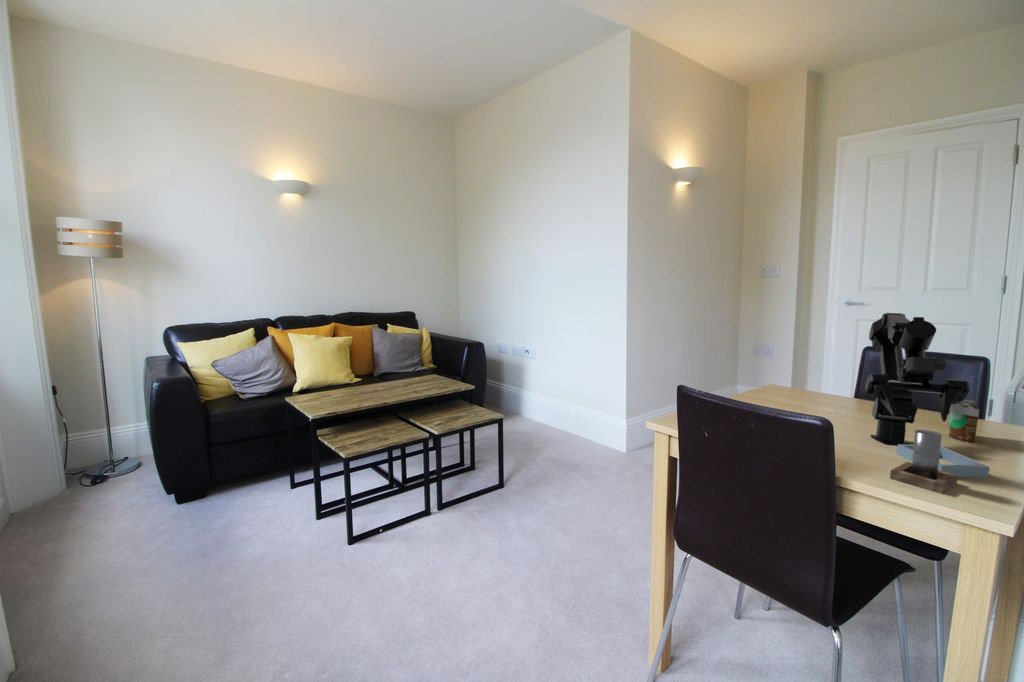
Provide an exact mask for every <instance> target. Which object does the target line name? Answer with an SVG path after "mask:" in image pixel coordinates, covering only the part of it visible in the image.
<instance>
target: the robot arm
mask: <svg viewBox="0 0 1024 682" xmlns="http://www.w3.org/2000/svg"><path fill="white" fill-rule="evenodd" d="M936 333H937V328H936V326H935V325H934V324H933V323H931V322H929V321H927V320H925V318H924V316H922V317H921V316H913V318H912V320H910V319H908V318H907V317H906V314H904V313H902V312H901V313H898V312H897V313H895V312H885V313H882V316H881V317H880V318H879V319H877V320H876V321H874V322H873V323H872V324H871V326H870V329H869V333H868V339H869V341H871V346H872V348H873V349H874V350H875V352H877V353H879V361H880V362H879V363H880V371H881V373H870V374H869V375H868V376H867V379H866V382H865V385H864V386H865V387H864V390H865V394H867V395H872V397H873V398H875V399H874V400H875V401H874V404H873V406H872V409H871V412H872V415H871V416H872V417H873V419H874V420H876V421H877V426H876V434H871V435H870V437H871V439H874V440H876V439H877V440H876V441H878V440H879V442H880V441H881V442H880V443H882V442H883V443H882V444H884V443H885V445H898V444H904V445H911V444H910V443H911V442H909V441H908V440H907V441H906V440H905V438H906V431H907V430H906V427H907V425H906V424H913V423H915V417H916V414H917V412H918V406H917V404H916V401H914V397H913V392H918V393H919V392H920V393H931V394H932V393H933V394H939V398H940V400H939V401H938V403H939V410H940V417H941V420H942V422H946V421H947V419H948V417H949V414H950V406H951V404H956V403H957V402H962V401H963V400H965V398H966V397H967V395H968V394H969V392H970V391H971V386H970V383H969V382H968V381H967V380H965V379H954V378H952V379H949V378H946V379H944V382H942V384H940V383H938V384H937V383H935V384H934V383H931V382H930V381H933V380H934V373H936V372H943V371H945V370H946V368H947V362H946V358H945V356H936V355H935V356H934V357H926V351H928V350H929V348H930V346H931V343H933V339H934V337H935V335H936Z"/></svg>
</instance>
